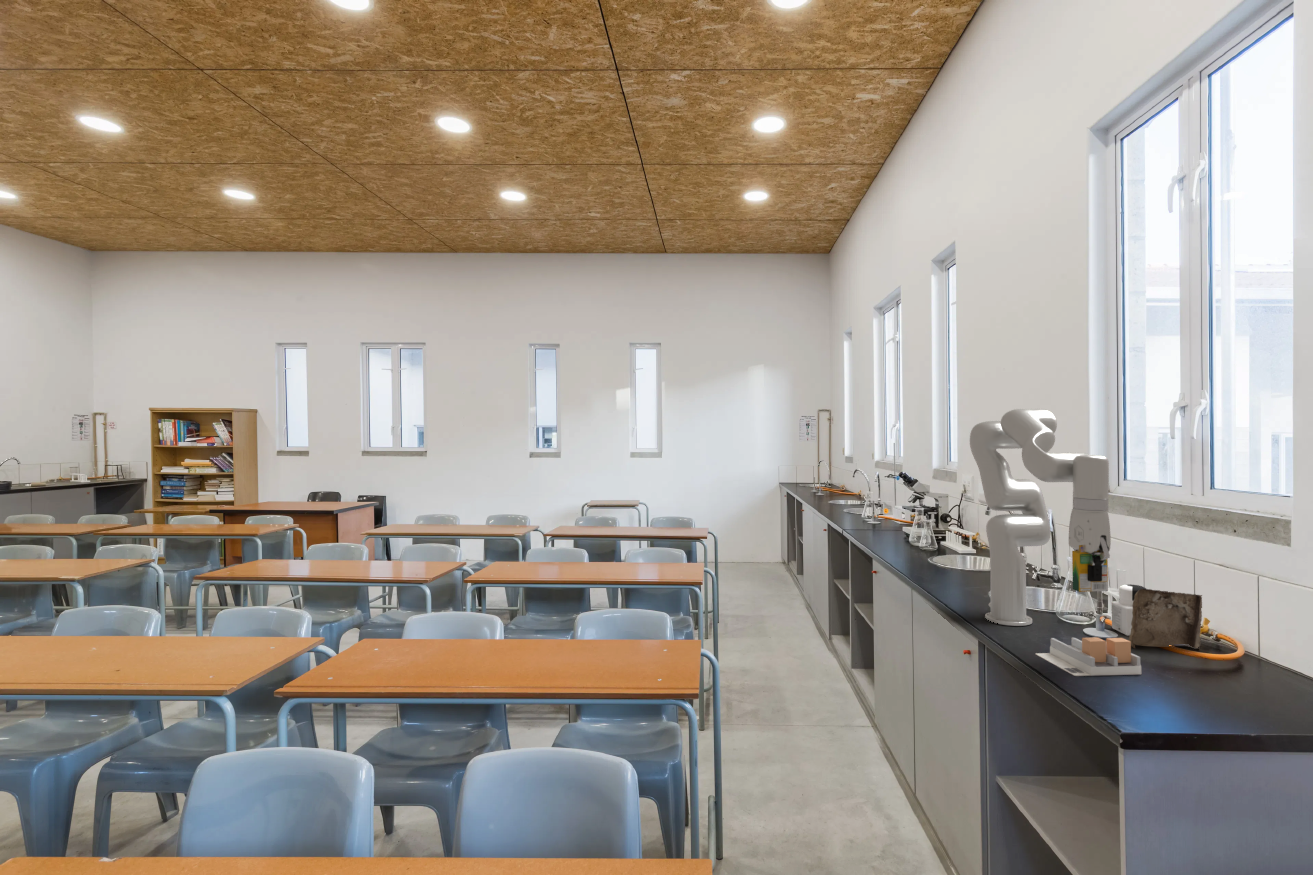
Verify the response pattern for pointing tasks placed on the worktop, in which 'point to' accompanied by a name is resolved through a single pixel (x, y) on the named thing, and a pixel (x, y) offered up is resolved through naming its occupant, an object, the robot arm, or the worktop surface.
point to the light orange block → (1119, 649)
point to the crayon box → (1081, 573)
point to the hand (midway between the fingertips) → (1090, 578)
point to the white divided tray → (1087, 661)
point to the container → (1124, 608)
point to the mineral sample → (1165, 618)
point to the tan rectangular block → (1094, 648)
